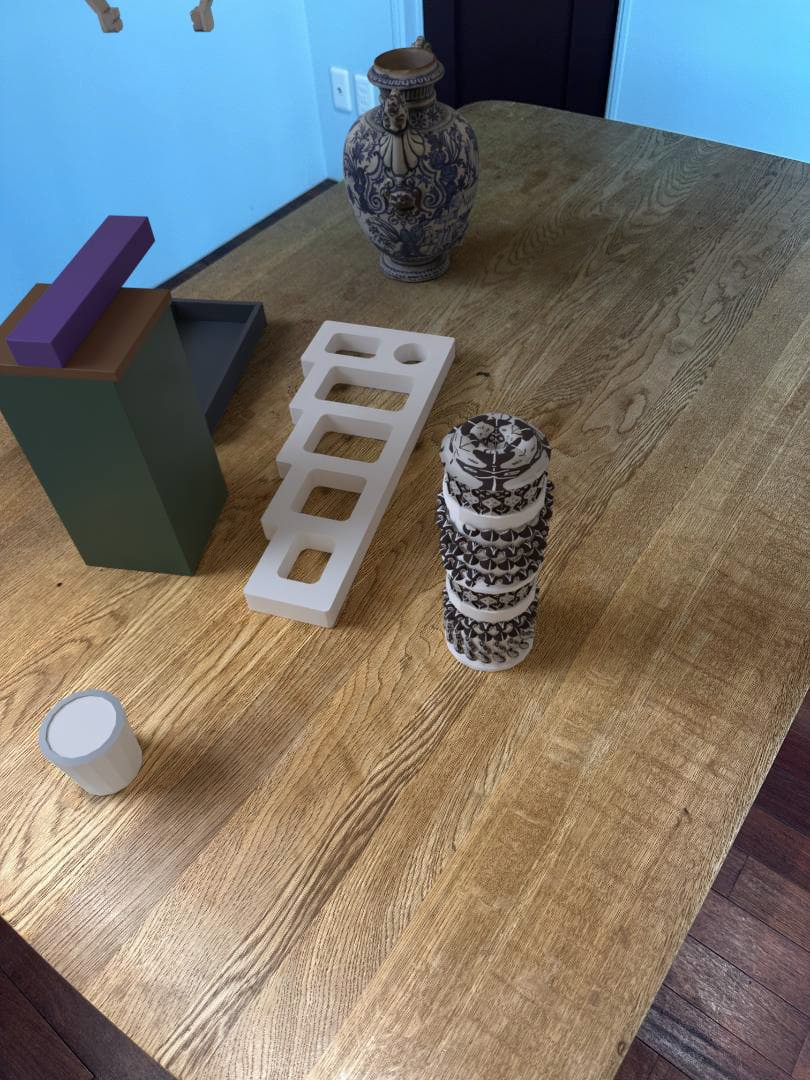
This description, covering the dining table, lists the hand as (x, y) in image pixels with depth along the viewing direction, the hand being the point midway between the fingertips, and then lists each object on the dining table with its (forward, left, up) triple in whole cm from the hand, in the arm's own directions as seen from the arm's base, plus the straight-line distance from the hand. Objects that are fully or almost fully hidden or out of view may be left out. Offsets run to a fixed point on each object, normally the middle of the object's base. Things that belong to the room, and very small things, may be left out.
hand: (158, 30), depth 78 cm
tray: (-6, -4, -39) cm, 40 cm away
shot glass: (+6, -57, -39) cm, 69 cm away
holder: (+16, -17, -39) cm, 45 cm away
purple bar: (0, -26, -13) cm, 29 cm away
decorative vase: (+19, +26, -39) cm, 51 cm away
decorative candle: (+37, -39, -39) cm, 66 cm away
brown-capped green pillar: (0, -30, -39) cm, 49 cm away
